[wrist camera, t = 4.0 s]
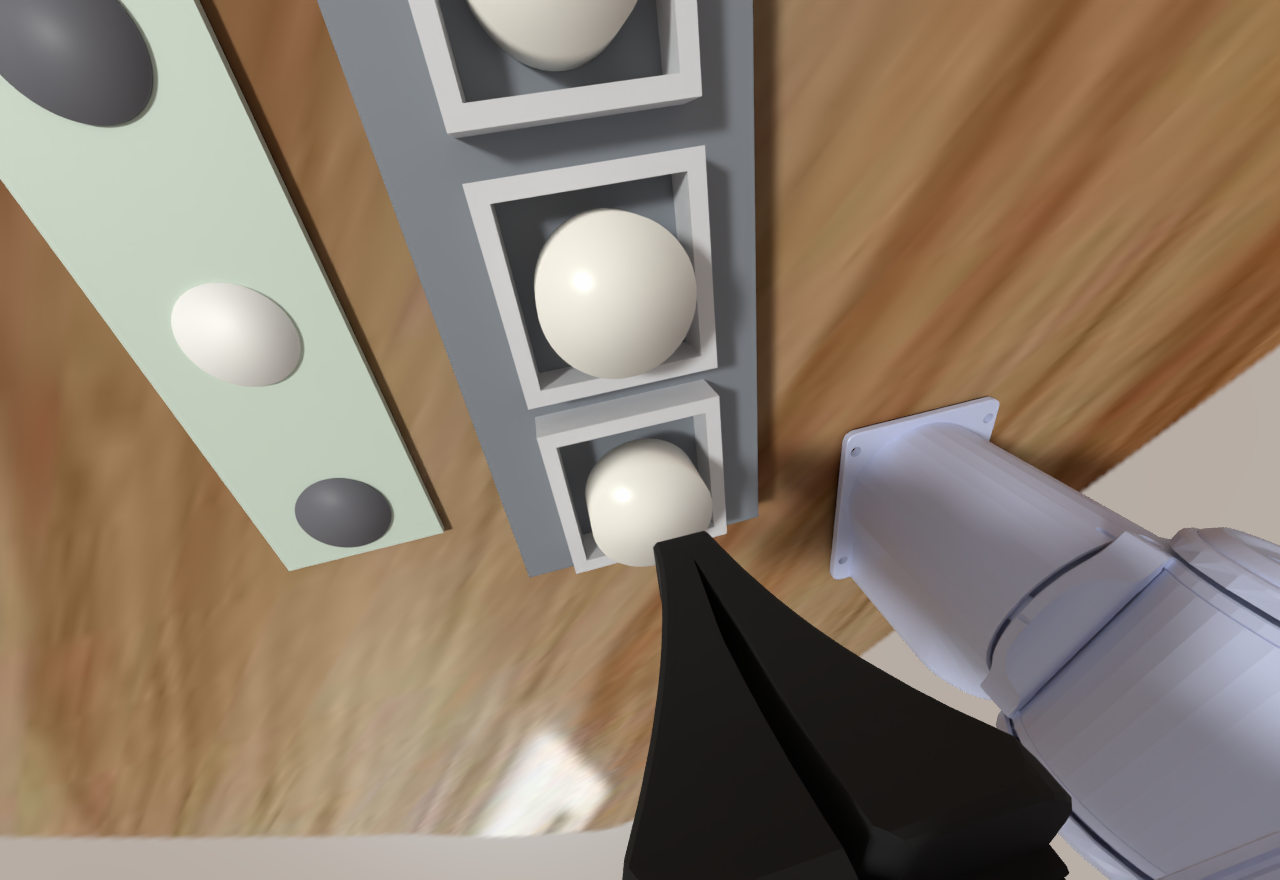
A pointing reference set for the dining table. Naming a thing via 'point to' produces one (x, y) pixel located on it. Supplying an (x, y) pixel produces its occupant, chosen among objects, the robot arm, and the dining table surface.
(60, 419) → the dining table surface
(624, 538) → the button far
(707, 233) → the button board
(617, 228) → the button middle
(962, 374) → the dining table surface
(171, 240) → the card
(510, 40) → the button near
